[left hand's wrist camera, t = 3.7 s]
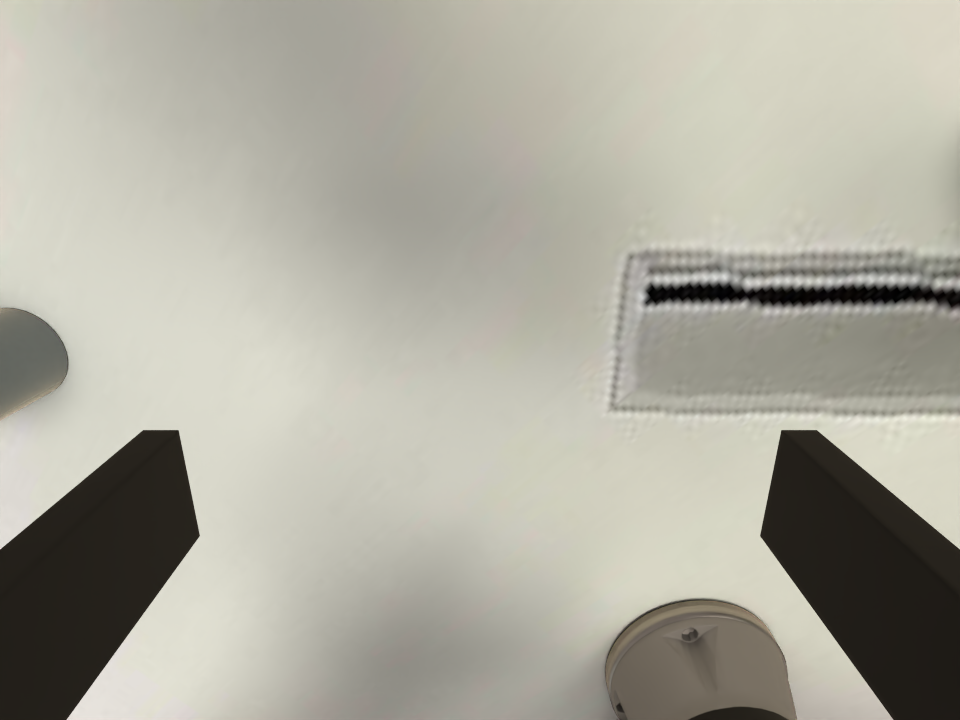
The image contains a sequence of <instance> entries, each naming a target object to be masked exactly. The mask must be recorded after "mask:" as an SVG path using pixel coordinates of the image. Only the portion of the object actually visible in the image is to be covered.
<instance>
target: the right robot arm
mask: <svg viewBox="0 0 960 720" xmlns="http://www.w3.org/2000/svg"><path fill="white" fill-rule="evenodd" d="M605 674H606V682H607V687H608V691H609V695H610V700H611V703H612V706H613V709H614V711H615V713H616V715H617V716H618V718H619V719H620V720H797V717H796V712H795V708H794V703H793V698H792V694H791V690H790V686H789V682H788V673H787V666H786V661H785V658H784V655H783V653H782V651H781V649H780V647H779V646H778V644H777V642H776V641H775V639H774V637H773V636H772V634H771V632H770V631H769V629H768V628H767V627H766V626H765V624H764V623H763V622H762V621H761V620H759V619H758V618H757V617H756V616H754V615H753V614H752V613H750V612H748V611H746V610H744V609H742V608H740V607H737V606H734V605H731V604H728V603H723V602H717V601H707V600H697V601H686V602H680V603H676V604H672V605H668V606H665V607H662V608H659V609H657V610H655V611H652V612H650V613H648V614H647V615H645V616H643V617H642V618H640V619H638V620H637V621H636V622H634V623H633V624H632V625H630V626H629V627H628V628H627V629H626V630H625V631H624V632H623V633H622V634H621V635H620V637H619V638H618V639H617V640H616V642H615V644H614V645H613V647H612V649H611V651H610V653H609V656H608V659H607V663H606V672H605Z"/></svg>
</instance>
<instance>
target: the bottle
mask: <svg viewBox="0 0 960 720" xmlns="http://www.w3.org/2000/svg"><path fill="white" fill-rule="evenodd" d="M67 367H68V359H67V354H66V351H65V348H64V345H63V343H62V341H61V340H60V338H59V337H58V335H57V334H56V333H55V331H54V330H53V329H52V328H51V327H50V326H49V325H48V324H46V323H45V322H44V321H43V320H41V319H40V318H38V317H36V316H34V315H33V314H30V313H28V312H25V311H22V310H18V309H12V308H0V421H1V420H3V419H4V418H6V417H8V416H10V415H11V414H13V413H15V412H17V411H18V410H20V409H22V408H24V407H26V406H27V405H29V404H31V403H33V402H34V401H36V400H38V399H40V398H41V397H43V396H45V395H47V394H49V393H50V392H52V391H54V390H55V389H56V388H58V387H59V386H60V385H61V383H62V382H63V380H64V378H65V376H66V373H67Z"/></svg>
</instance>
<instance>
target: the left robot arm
mask: <svg viewBox="0 0 960 720" xmlns="http://www.w3.org/2000/svg"><path fill="white" fill-rule="evenodd" d="M199 536H200V535H199V530H198V525H197V520H196V515H195V510H194V505H193V500H192V495H191V490H190V485H189V480H188V475H187V470H186V465H185V460H184V455H183V450H182V445H181V440H180V435H179V430H143V431H142V432H141V433H139V434H138V435H137V436H136V437H135V438H133V439H132V440H131V441H130V442H129V443H127V444H126V445H125V446H124V447H123V448H121V449H120V450H119V451H118V452H117V453H115V454H114V455H113V456H112V457H111V458H109V459H108V460H107V461H106V462H105V463H103V464H102V465H101V466H100V467H99V468H97V469H96V470H95V471H94V472H93V473H91V474H90V475H89V476H88V477H87V478H85V479H84V480H83V481H82V482H81V483H79V484H78V485H77V486H76V487H75V488H73V489H72V490H71V491H70V492H69V493H67V494H66V495H65V496H64V497H63V498H61V499H60V500H59V501H58V502H57V503H56V504H54V505H53V506H52V507H51V508H50V509H48V510H47V511H46V512H45V513H44V514H42V515H41V516H40V517H39V518H38V519H36V520H35V521H34V522H33V523H32V524H30V525H29V526H28V527H27V528H26V529H24V530H23V531H22V532H21V533H20V534H18V535H17V536H16V537H15V538H14V539H12V540H11V541H10V542H9V543H8V544H6V545H5V546H4V547H3V548H2V549H0V720H67V718H68V717H69V715H70V714H71V713H72V711H73V710H74V709H75V707H76V706H77V704H78V703H79V702H80V700H81V699H82V698H83V696H84V695H85V693H86V692H87V691H88V689H89V688H90V687H91V685H92V684H93V682H94V681H95V680H96V678H97V677H98V675H99V674H100V673H101V671H102V670H103V669H104V667H105V666H106V664H107V663H108V662H109V660H110V659H111V658H112V656H113V655H114V653H115V652H116V651H117V649H118V648H119V647H120V645H121V644H122V642H123V641H124V640H125V638H126V637H127V635H128V634H129V633H130V631H131V630H132V629H133V627H134V626H135V624H136V623H137V622H138V620H139V619H140V618H141V616H142V615H143V613H144V612H145V611H146V609H147V608H148V607H149V605H150V604H151V602H152V601H153V600H154V598H155V597H156V596H157V594H158V593H159V591H160V590H161V589H162V587H163V586H164V584H165V583H166V582H167V580H168V579H169V578H170V576H171V575H172V573H173V572H174V571H175V569H176V568H177V567H178V565H179V564H180V562H181V561H182V560H183V558H184V557H185V556H186V554H187V553H188V551H189V550H190V549H191V547H192V546H193V544H194V543H195V542H196V540H197V539H198V538H199ZM760 536H761V538H762V539H763V540H764V542H765V543H766V544H767V546H768V547H769V549H770V550H771V551H772V553H773V554H774V556H775V557H776V558H777V560H778V561H779V562H780V564H781V565H782V567H783V568H784V569H785V571H786V572H787V573H788V575H789V576H790V578H791V579H792V580H793V582H794V583H795V584H796V586H797V587H798V589H799V590H800V591H801V593H802V594H803V596H804V597H805V598H806V600H807V601H808V602H809V604H810V605H811V607H812V608H813V609H814V611H815V612H816V613H817V615H818V616H819V618H820V619H821V620H822V622H823V623H824V624H825V626H826V627H827V629H828V630H829V631H830V633H831V634H832V635H833V637H834V638H835V640H836V641H837V642H838V644H839V645H840V647H841V648H842V649H843V651H844V652H845V653H846V655H847V656H848V658H849V659H850V660H851V662H852V663H853V664H854V666H855V667H856V669H857V670H858V671H859V673H860V674H861V675H862V677H863V678H864V680H865V681H866V682H867V684H868V685H869V687H870V688H871V689H872V691H873V692H874V693H875V695H876V696H877V698H878V699H879V700H880V702H881V703H882V704H883V706H884V707H885V709H886V710H887V711H888V713H889V714H890V715H891V717H892V718H893V720H960V549H958V548H957V547H956V546H955V545H954V544H952V543H951V542H950V541H949V540H948V539H946V538H945V537H944V536H943V535H942V534H940V533H939V532H938V531H937V530H936V529H934V528H933V527H932V526H931V525H930V524H928V523H927V522H926V521H925V520H924V519H922V518H921V517H920V516H919V515H918V514H916V513H915V512H914V511H913V510H912V509H910V508H909V507H908V506H907V505H906V504H904V503H903V502H902V501H901V500H900V499H899V498H897V497H896V496H895V495H894V494H893V493H891V492H890V491H889V490H888V489H887V488H885V487H884V486H883V485H882V484H881V483H879V482H878V481H877V480H876V479H875V478H873V477H872V476H871V475H870V474H869V473H867V472H866V471H865V470H864V469H863V468H861V467H860V466H859V465H858V464H857V463H855V462H854V461H853V460H852V459H851V458H849V457H848V456H847V455H846V454H845V453H843V452H842V451H841V450H840V449H839V448H837V447H836V446H835V445H834V444H833V443H831V442H830V441H829V440H828V439H827V438H825V437H824V436H823V435H822V434H821V433H819V432H818V431H817V430H781V435H780V440H779V445H778V450H777V455H776V460H775V465H774V470H773V475H772V480H771V485H770V490H769V495H768V500H767V505H766V510H765V515H764V520H763V525H762V530H761V535H760Z"/></svg>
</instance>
